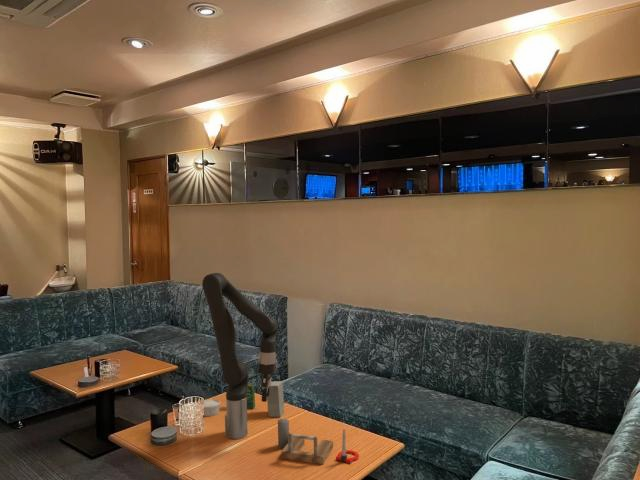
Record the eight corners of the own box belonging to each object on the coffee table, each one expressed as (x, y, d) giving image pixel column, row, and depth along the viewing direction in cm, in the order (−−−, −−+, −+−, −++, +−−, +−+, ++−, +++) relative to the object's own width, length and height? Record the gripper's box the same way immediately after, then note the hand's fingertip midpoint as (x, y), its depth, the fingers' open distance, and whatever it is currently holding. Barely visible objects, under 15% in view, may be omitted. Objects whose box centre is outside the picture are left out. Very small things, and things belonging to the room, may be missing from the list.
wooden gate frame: (281, 458, 188) (280, 434, 187) (293, 442, 201) (293, 420, 201) (323, 464, 182) (323, 439, 182) (333, 447, 196) (332, 424, 195)
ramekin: (225, 411, 238) (224, 401, 238) (209, 419, 229) (209, 408, 228) (209, 407, 244) (209, 397, 244) (193, 414, 235) (193, 404, 234)
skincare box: (280, 417, 228) (279, 386, 227) (266, 417, 229) (265, 385, 229) (284, 411, 236) (284, 380, 236) (271, 410, 238) (270, 380, 237)
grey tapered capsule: (276, 448, 197) (276, 422, 196) (280, 443, 201) (280, 418, 201) (287, 449, 195) (286, 424, 195) (291, 444, 200) (290, 419, 199)
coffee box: (239, 407, 242) (238, 383, 241) (241, 405, 245) (240, 381, 244) (252, 409, 239) (252, 384, 239) (255, 407, 242) (254, 382, 242)
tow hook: (343, 451, 194) (333, 460, 185) (344, 420, 194) (333, 428, 186) (362, 455, 189) (352, 465, 181) (362, 424, 190) (352, 432, 181)
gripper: (261, 358, 213) (259, 394, 212) (256, 364, 199) (254, 402, 198) (277, 359, 213) (275, 394, 212) (273, 365, 199) (271, 403, 198)
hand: (265, 398), depth 205 cm, fingers open, 8 cm apart
